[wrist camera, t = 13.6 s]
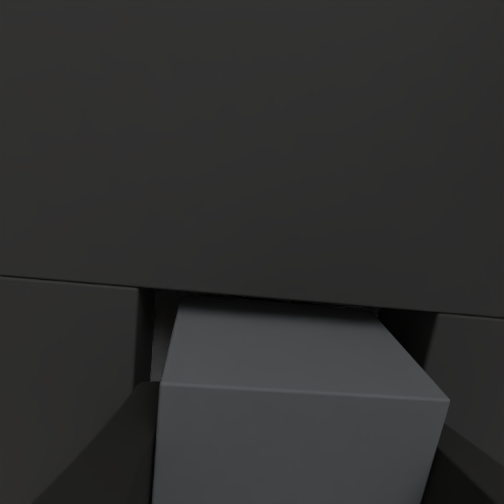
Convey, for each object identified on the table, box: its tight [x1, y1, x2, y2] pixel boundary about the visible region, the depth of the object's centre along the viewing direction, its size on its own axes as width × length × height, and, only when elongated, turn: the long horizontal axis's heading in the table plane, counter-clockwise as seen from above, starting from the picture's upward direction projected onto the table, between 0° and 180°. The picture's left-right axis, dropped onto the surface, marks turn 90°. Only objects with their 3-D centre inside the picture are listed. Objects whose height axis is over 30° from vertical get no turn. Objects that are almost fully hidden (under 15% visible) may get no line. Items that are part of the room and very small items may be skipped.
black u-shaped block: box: [0, 0, 504, 504], centre depth 9 cm, size 12×12×2 cm
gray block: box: [151, 294, 450, 504], centre depth 8 cm, size 4×4×4 cm
